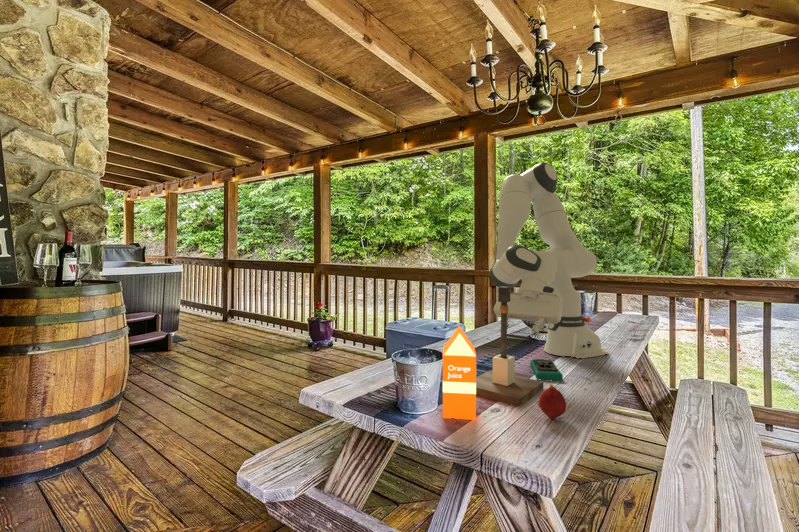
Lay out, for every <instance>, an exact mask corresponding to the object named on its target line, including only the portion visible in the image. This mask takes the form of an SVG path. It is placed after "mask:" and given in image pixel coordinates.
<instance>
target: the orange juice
mask: <svg viewBox="0 0 799 532" xmlns="http://www.w3.org/2000/svg"><path fill="white" fill-rule="evenodd" d="M476 377H477V353H476V348H475V346H474V345H473V344H472V342H471V341H470V339H469V338H468V336H467V335H466V333H465V332H464V330H463V328H462V327H461V326H460V325H458V327H457V328H456V329H455V331H454V332H453V333H452V335H451V336H450V338H449V339H448V340H447V342H446V343H445V344H444V345H443V348H442V418H443V417H444V418H443V419H451V418H455V419H456V420H469V421H470V420H471V421H477V416H476V415H477V412H476V411H477V403H476V402H477V395H476ZM455 419H454V420H455Z"/></svg>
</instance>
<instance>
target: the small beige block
mask: <svg viewBox="0 0 799 532" xmlns="http://www.w3.org/2000/svg"><path fill="white" fill-rule="evenodd" d="M515 359H516V357H515V356H514V355H508V354H507V359H504V358H501V353H499V354H497V355H494V356H492V370H493V378H492V382H493V383H497V384H501V385H505V386H508V385H510V384H512V383H513V382H515V375H516V372H515V371H516V368H515V367H516V366H515V365H516V361H515Z"/></svg>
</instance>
